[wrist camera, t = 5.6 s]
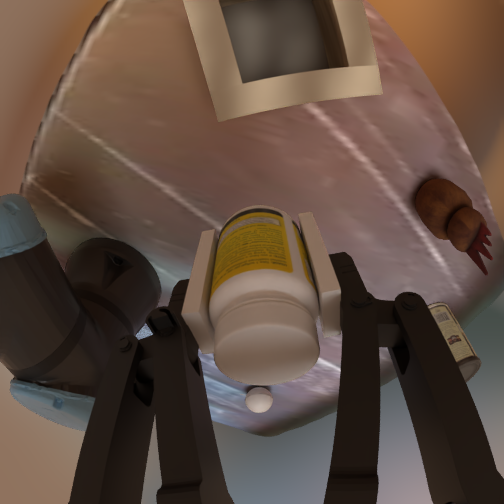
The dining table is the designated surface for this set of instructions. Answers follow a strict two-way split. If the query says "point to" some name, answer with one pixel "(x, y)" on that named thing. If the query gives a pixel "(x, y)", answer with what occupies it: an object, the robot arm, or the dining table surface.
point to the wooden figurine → (453, 218)
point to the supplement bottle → (263, 299)
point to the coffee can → (456, 340)
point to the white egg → (259, 399)
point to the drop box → (282, 52)
